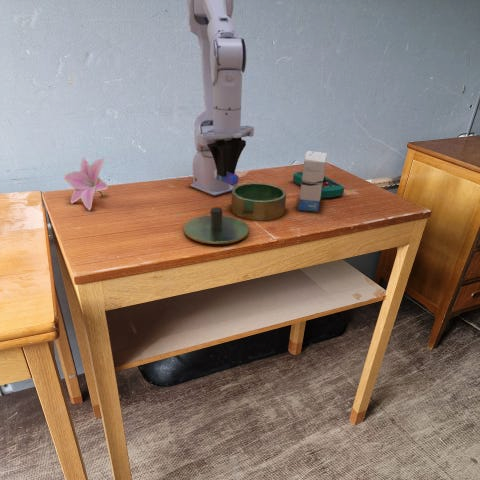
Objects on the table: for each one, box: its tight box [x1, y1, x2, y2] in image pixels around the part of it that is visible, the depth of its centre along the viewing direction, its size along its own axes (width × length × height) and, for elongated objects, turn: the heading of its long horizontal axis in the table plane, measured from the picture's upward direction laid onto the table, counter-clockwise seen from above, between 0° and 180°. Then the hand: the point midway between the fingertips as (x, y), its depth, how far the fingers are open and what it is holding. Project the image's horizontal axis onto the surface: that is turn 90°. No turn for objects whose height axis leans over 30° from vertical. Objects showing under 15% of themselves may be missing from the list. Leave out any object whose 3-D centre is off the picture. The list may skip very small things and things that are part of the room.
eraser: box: [214, 170, 239, 186], centre depth 98 cm, size 2×6×2 cm, turn 44°
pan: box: [231, 182, 287, 221], centre depth 103 cm, size 12×12×4 cm
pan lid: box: [183, 207, 250, 245], centre depth 91 cm, size 14×14×5 cm
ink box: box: [297, 150, 328, 213], centre depth 104 cm, size 8×5×12 cm, turn 168°
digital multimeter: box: [292, 170, 345, 200], centre depth 117 cm, size 7×15×3 cm, turn 23°
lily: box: [63, 156, 109, 211], centre depth 103 cm, size 12×12×10 cm
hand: (225, 174), depth 98 cm, fingers closed on eraser, 2 cm apart
